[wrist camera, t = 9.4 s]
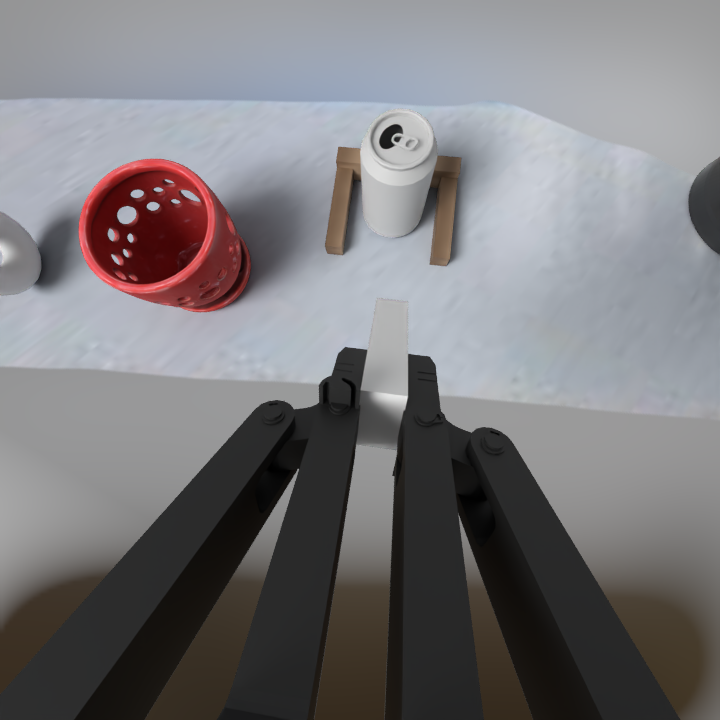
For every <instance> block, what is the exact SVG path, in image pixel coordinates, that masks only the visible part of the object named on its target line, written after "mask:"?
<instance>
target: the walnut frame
mask: <svg viewBox="0 0 720 720" xmlns="http://www.w3.org/2000/svg"><path fill="white" fill-rule="evenodd" d="M360 150H361V149H358V148H347V147H338V153H337V160H336V163H337V171H336V178H335V184H334V191H333V197H332V204H331V210H330V217H329V223H328V230H327V236H326V243H325V247H326V251H327V253H328V254H337V255H343V251H344V244H345V237H346V230H347V223H348V216H349V209H350V203H351V196H352V189H353V182H354V180H358V181H361V160H360ZM460 166H461V158H459V157H448V156H437V161H436V165H435V168H434V172H433V176H432V180H431V183H430V187H432V188H438V191H437V201H436V210H435V220H434V229H433V239H432V248H431V258H430V265H440V266H446V265H447V263H448V261H449V259H450V252H451V241H452V231H453V221H454V210H455V200H456V190H457V179H458V176H459V174H460Z"/></svg>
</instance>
